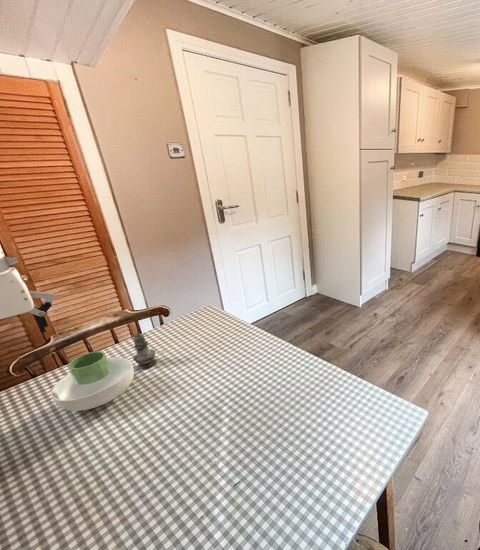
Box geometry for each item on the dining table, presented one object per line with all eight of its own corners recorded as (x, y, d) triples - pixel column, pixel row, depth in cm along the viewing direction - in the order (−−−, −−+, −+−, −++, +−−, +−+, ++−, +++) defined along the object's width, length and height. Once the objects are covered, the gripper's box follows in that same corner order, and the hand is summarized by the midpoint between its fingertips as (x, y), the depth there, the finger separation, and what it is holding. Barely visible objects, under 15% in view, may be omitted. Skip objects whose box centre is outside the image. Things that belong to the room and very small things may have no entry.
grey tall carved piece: (141, 372, 94) (130, 339, 89) (132, 366, 97) (121, 334, 92) (161, 362, 99) (152, 330, 94) (152, 356, 101) (142, 325, 97)
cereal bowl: (119, 369, 95) (112, 351, 92) (151, 386, 88) (144, 366, 86) (48, 407, 81) (37, 386, 78) (80, 430, 74) (69, 409, 72)
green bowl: (70, 389, 78) (62, 371, 76) (83, 371, 84) (76, 354, 82) (105, 382, 80) (98, 365, 78) (115, 365, 86) (109, 349, 84)
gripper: (37, 255, 71) (62, 319, 77) (-90, 274, 58) (-49, 349, 64) (43, 262, 67) (68, 329, 73) (-94, 284, 54) (-50, 364, 60)
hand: (13, 338), depth 68 cm, fingers open, 9 cm apart
